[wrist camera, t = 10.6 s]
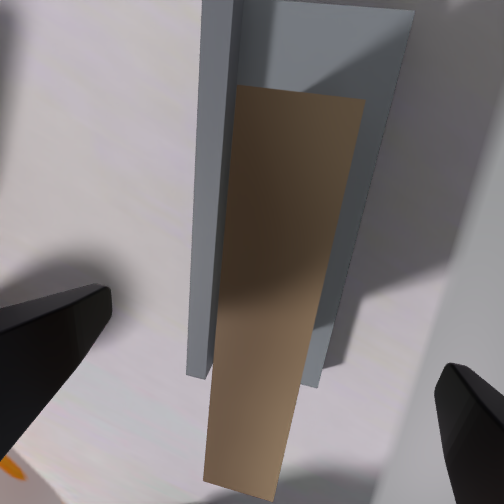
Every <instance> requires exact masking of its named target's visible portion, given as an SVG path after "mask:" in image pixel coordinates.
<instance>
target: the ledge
mask: <svg viewBox="0 0 504 504" xmlns="http://www.w3.org/2000/svg"><path fill="white" fill-rule="evenodd" d="M414 14H415V11H414V10H401V9H388V8H375V7H362V6H348V5H335V4H322V3H309V2H296V1H283V0H202V16H201V39H200V63H199V86H198V109H197V133H196V156H195V179H194V203H193V226H192V249H191V273H190V296H189V319H188V343H187V366H186V375H188V376H192V377H196V378H200V379H204V380H205V379H206V377H207V375H208V373H209V371H210V368H211V366H212V364H213V359H214V347H215V335H216V324H217V312H218V300H219V289H220V277H221V265H222V254H223V242H224V230H225V219H226V207H227V195H228V184H229V172H230V160H231V149H232V137H233V125H234V114H235V102H236V90H237V85H245V86H253V87H262V88H270V89H279V90H288V91H296V92H305V93H313V94H322V95H330V96H339V97H347V98H356V99H364V100H366V102H365V106H364V110H363V115H362V119H361V123H360V128H359V132H358V136H357V141H356V145H355V149H354V154H353V158H352V162H351V167H350V171H349V175H348V180H347V184H346V188H345V193H344V197H343V201H342V206H341V210H340V214H339V219H338V223H337V227H336V231H335V236H334V240H333V244H332V249H331V253H330V257H329V262H328V266H327V270H326V275H325V279H324V283H323V288H322V292H321V296H320V301H319V305H318V309H317V314H316V318H315V322H314V327H313V331H312V335H311V340H310V344H309V348H308V353H307V357H306V361H305V366H304V370H303V374H302V379H301V383H300V384H302V385H306V386H310V387H314V388H318V384H319V380H320V376H321V372H322V369H323V365H324V361H325V357H326V353H327V349H328V345H329V342H330V338H331V334H332V330H333V326H334V322H335V318H336V315H337V311H338V307H339V303H340V299H341V295H342V291H343V288H344V284H345V280H346V276H347V272H348V268H349V265H350V261H351V257H352V253H353V249H354V245H355V241H356V238H357V234H358V230H359V226H360V222H361V218H362V214H363V211H364V207H365V203H366V199H367V195H368V191H369V187H370V184H371V180H372V176H373V172H374V168H375V164H376V160H377V157H378V153H379V149H380V145H381V141H382V137H383V134H384V130H385V126H386V122H387V118H388V114H389V110H390V107H391V103H392V99H393V95H394V91H395V87H396V83H397V80H398V76H399V72H400V68H401V64H402V60H403V56H404V53H405V49H406V45H407V41H408V37H409V33H410V29H411V26H412V22H413V18H414Z"/></svg>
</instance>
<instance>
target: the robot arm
mask: <svg viewBox="0 0 504 504" xmlns="http://www.w3.org/2000/svg"><path fill="white" fill-rule="evenodd" d="M111 315H112V299H111V290H110V288H109V287H108V286H105V285H100V284H91V285H87V286H83V287H80V288H76V289H72V290H68V291H65V292H61V293H57V294H53V295H50V296H46V297H42V298H39V299H35V300H31V301H27V302H24V303H20V304H16V305H12V306H9V307H5V308H1V309H0V461H1V460H2V459H3V458H4V456H5V455H6V454H7V453H8V451H9V450H10V449H11V448H12V447H13V445H14V444H15V443H16V442H17V440H18V439H19V438H20V437H21V436H22V434H23V433H24V432H25V431H26V429H27V428H28V427H29V426H30V425H31V423H32V422H33V421H34V420H35V418H36V417H37V416H38V415H39V414H40V412H41V411H42V410H43V409H44V407H45V406H46V405H47V404H48V403H49V401H50V400H51V399H52V398H53V396H54V395H55V394H56V393H57V392H58V390H59V389H60V388H61V387H62V385H63V384H64V383H65V382H66V381H67V379H68V378H69V377H70V376H71V375H72V373H73V372H74V371H75V370H76V368H77V367H78V366H79V364H80V363H81V362H82V360H83V359H84V358H85V356H86V355H87V353H88V352H89V350H90V349H91V347H92V346H93V344H94V343H95V341H96V340H97V338H98V337H99V335H100V334H101V332H102V331H103V329H104V328H105V326H106V324H107V323H108V321H109V320H110V318H111ZM434 397H435V404H436V410H437V416H438V422H439V429H440V435H441V442H442V448H443V453H444V459H445V463H446V467H447V471H448V475H449V478H450V482H451V486H452V489H453V493H454V496H455V501H456V504H504V396H503V395H502V394H501V393H500V392H498V391H497V390H496V389H495V388H493V387H492V386H491V385H490V384H488V383H487V382H486V381H485V380H484V379H482V378H481V377H479V375H477V374H476V373H475V372H474V371H472V370H471V369H470V368H468V367H467V366H465V365H460V364H455V363H448V364H446V366H445V367H444V369H443V371H442V373H441V376H440V378H439V380H438V382H437V384H436V387H435V392H434Z"/></svg>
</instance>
